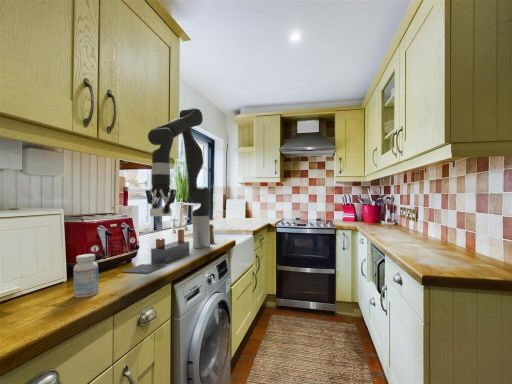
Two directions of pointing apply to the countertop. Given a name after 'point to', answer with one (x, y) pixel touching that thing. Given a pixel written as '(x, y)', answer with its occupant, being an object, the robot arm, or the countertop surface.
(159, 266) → the rubber mat
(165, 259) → the bench plane
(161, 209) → the lever cap
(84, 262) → the pill bottle
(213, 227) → the cork
